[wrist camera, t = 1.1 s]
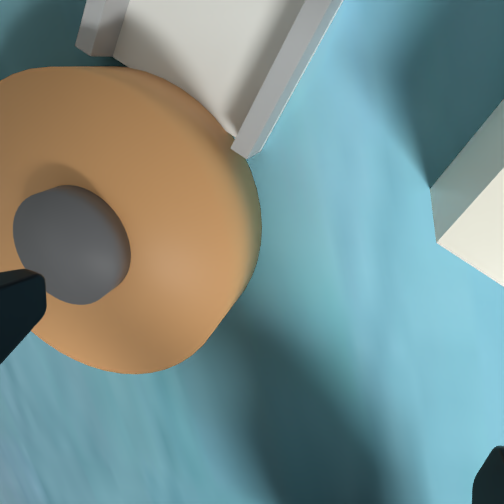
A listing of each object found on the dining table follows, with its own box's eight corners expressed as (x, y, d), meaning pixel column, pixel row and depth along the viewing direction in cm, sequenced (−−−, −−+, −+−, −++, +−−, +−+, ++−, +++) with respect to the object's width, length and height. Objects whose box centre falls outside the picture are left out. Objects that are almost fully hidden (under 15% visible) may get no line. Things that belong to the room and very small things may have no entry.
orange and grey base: (522, -140, 13) (581, -249, 8) (191, 372, 25) (142, 439, 21) (140, -359, 14) (5, -565, 9) (3, 239, 26) (-83, 276, 22)
